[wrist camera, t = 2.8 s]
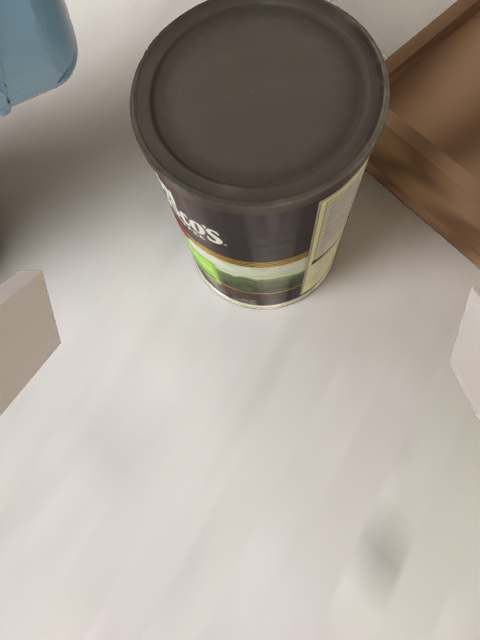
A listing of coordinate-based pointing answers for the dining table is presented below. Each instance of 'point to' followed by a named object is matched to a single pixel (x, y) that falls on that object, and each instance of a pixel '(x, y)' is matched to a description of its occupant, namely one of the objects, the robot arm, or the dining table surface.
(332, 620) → the dining table surface
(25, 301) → the robot arm
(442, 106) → the tray
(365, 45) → the coffee can
